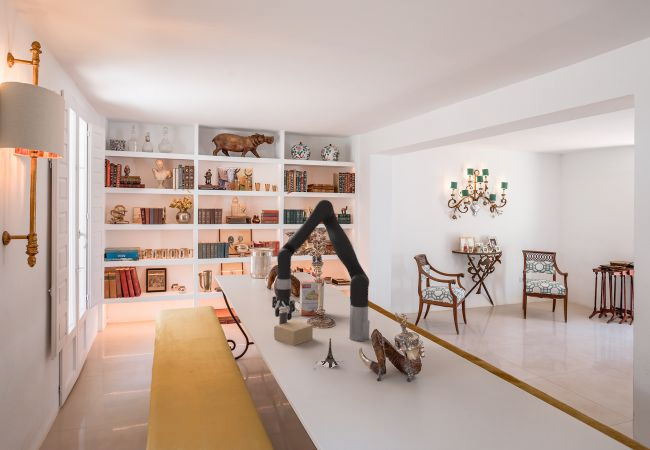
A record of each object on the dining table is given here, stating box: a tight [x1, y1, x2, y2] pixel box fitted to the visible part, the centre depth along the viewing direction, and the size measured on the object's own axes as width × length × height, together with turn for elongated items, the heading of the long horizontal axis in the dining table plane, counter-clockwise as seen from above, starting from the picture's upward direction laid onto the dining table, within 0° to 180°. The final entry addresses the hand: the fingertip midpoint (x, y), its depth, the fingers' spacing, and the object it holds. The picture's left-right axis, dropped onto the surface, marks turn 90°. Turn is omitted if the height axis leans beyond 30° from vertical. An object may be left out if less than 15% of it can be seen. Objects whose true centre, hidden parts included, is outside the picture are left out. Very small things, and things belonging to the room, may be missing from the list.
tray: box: [273, 311, 288, 339], centre depth 216 cm, size 14×13×11 cm
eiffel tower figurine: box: [321, 337, 339, 369], centre depth 183 cm, size 15×10×13 cm
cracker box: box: [299, 279, 325, 317], centre depth 262 cm, size 14×6×21 cm, turn 105°
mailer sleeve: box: [274, 319, 314, 346], centre depth 215 cm, size 13×14×7 cm
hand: (283, 318), depth 220 cm, fingers open, 8 cm apart
